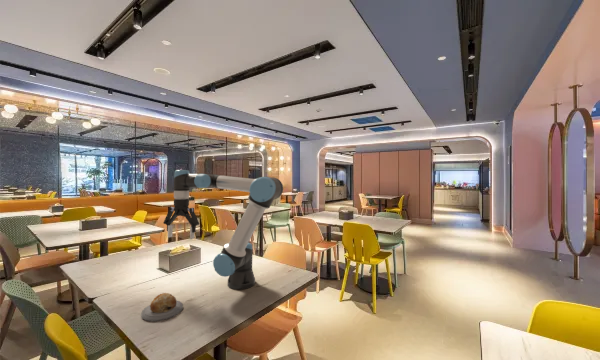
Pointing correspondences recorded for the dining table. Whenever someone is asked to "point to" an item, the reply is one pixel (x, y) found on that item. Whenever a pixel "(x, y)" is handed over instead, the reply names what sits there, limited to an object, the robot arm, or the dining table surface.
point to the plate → (153, 316)
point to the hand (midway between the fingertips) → (181, 237)
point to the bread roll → (163, 303)
